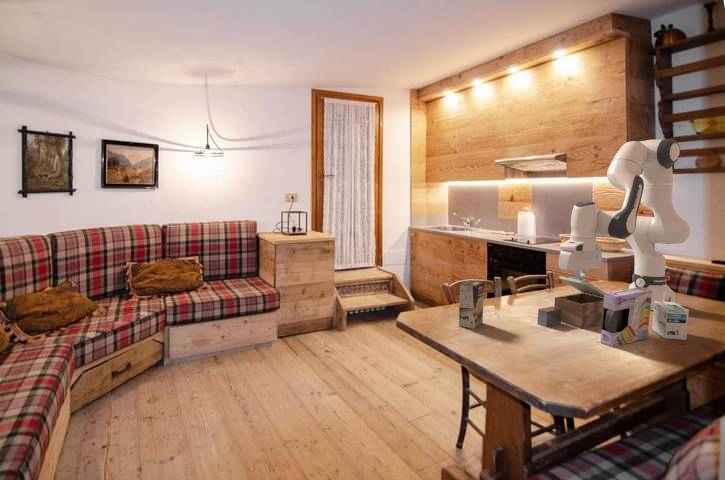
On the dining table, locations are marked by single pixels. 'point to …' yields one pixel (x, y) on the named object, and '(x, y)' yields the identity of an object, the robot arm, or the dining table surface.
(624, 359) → the dining table surface
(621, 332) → the cake pan box
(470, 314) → the coffee box
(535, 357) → the dining table surface
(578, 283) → the lid
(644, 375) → the dining table surface
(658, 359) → the dining table surface
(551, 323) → the block
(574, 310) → the crate
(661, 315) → the light bulb box
